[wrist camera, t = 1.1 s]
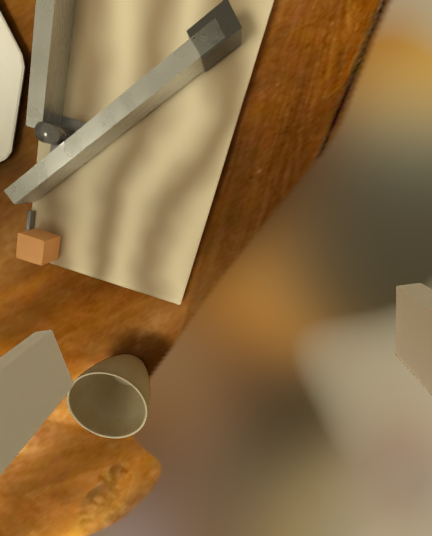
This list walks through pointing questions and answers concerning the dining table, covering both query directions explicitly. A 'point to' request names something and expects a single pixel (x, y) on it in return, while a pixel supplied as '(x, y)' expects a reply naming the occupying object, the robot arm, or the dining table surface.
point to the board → (146, 144)
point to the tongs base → (50, 76)
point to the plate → (9, 87)
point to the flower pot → (112, 397)
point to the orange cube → (38, 246)
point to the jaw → (135, 102)
